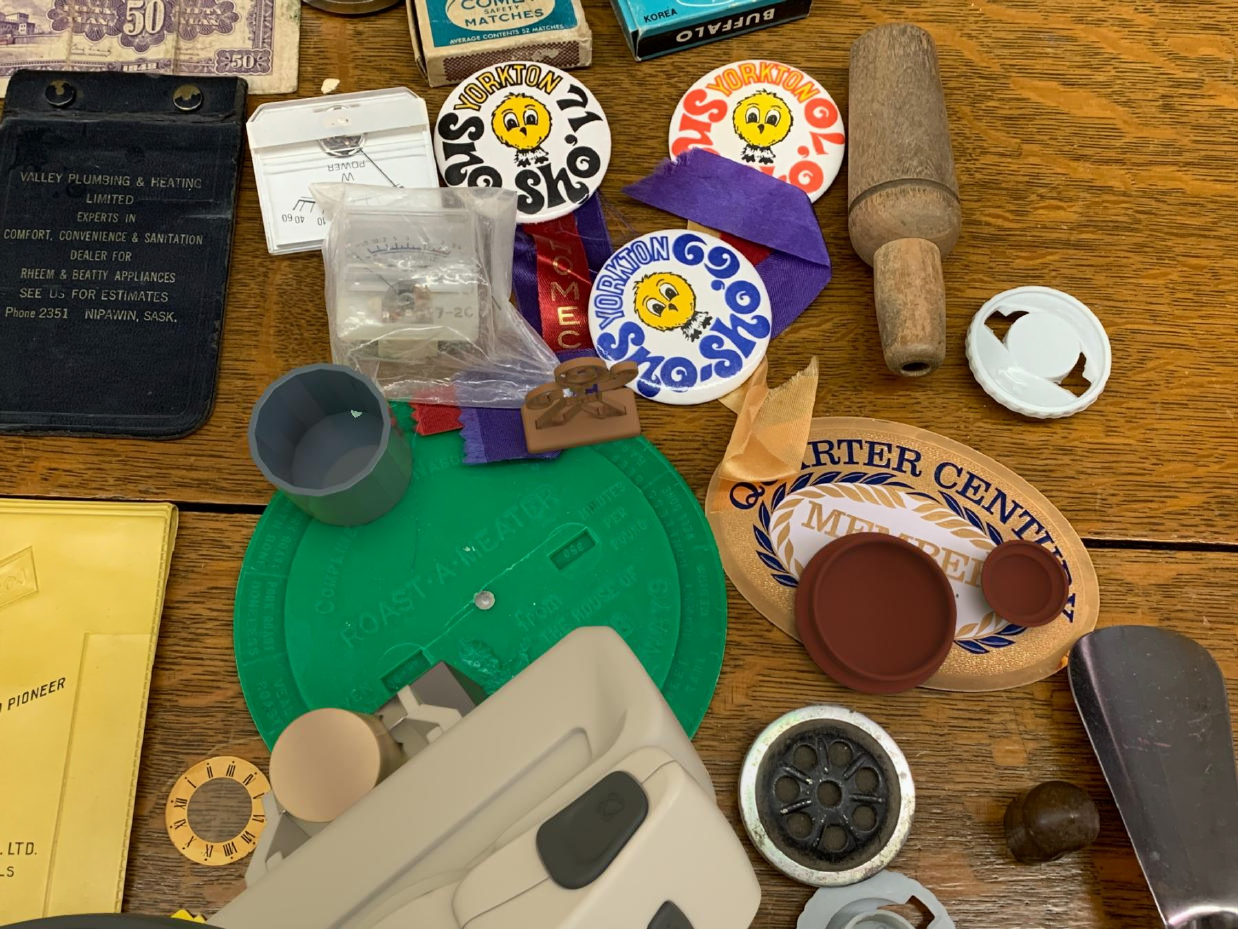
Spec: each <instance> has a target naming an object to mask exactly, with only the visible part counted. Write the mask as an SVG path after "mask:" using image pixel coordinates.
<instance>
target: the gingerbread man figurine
mask: <svg viewBox="0 0 1238 929" xmlns="http://www.w3.org/2000/svg"><path fill="white" fill-rule="evenodd" d="M596 370H597V371H596ZM639 373H640V372H639V366H638V362H636V361H633V360H623V361H619V362H616V363H614V364H613V365H611V366H610V368H609V370H608V367H607V362H606V360H604V359H603V358H601V357H597V356H581V357H576V358H575V357H574V358H572V359H569V360H566V361H563V362H562V363H560V364H558V365H557V366H556V367H555V368H554V370H553V376H554V381H549V382H545V383H543V384H540V385H538V386H536V387H534V388H532V389H531V390H529V391H528V392H527V393H526V394H525V396H524V404H522V405H521V406H520V414H521V420H522V425H523V432H524V437H525V444H526V449H527V450H526V451H527V452H528V454H530V455H537V454H543V453H549V452H555V451H561V450H567V449H572V448H579V447H585V446H591V445H596V444H597V445H598V444H603V443H609V442H615V441H620V440H627V439H632V438H639V437H640V436H641V433H642V427H641V422H640V417H639V413H638V412H639V411H638V408H637V402H636V398H635V392H634V389H633V388H631V387H624V386H626V385H628V384H629V383H631V382H632V381H634V380H636V378H637V377H638V376H639ZM563 375H564V376H563ZM594 385H597V386H596V387H597V389H596V391H593V392H592V393H591V392H588V393H587V392H586V390H593V389H594ZM621 387H622V388H621ZM623 387H624V388H623ZM567 389H568V390H569V392H570V393H573V392H575V395H570V396H565V394H564V390H567Z"/></svg>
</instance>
